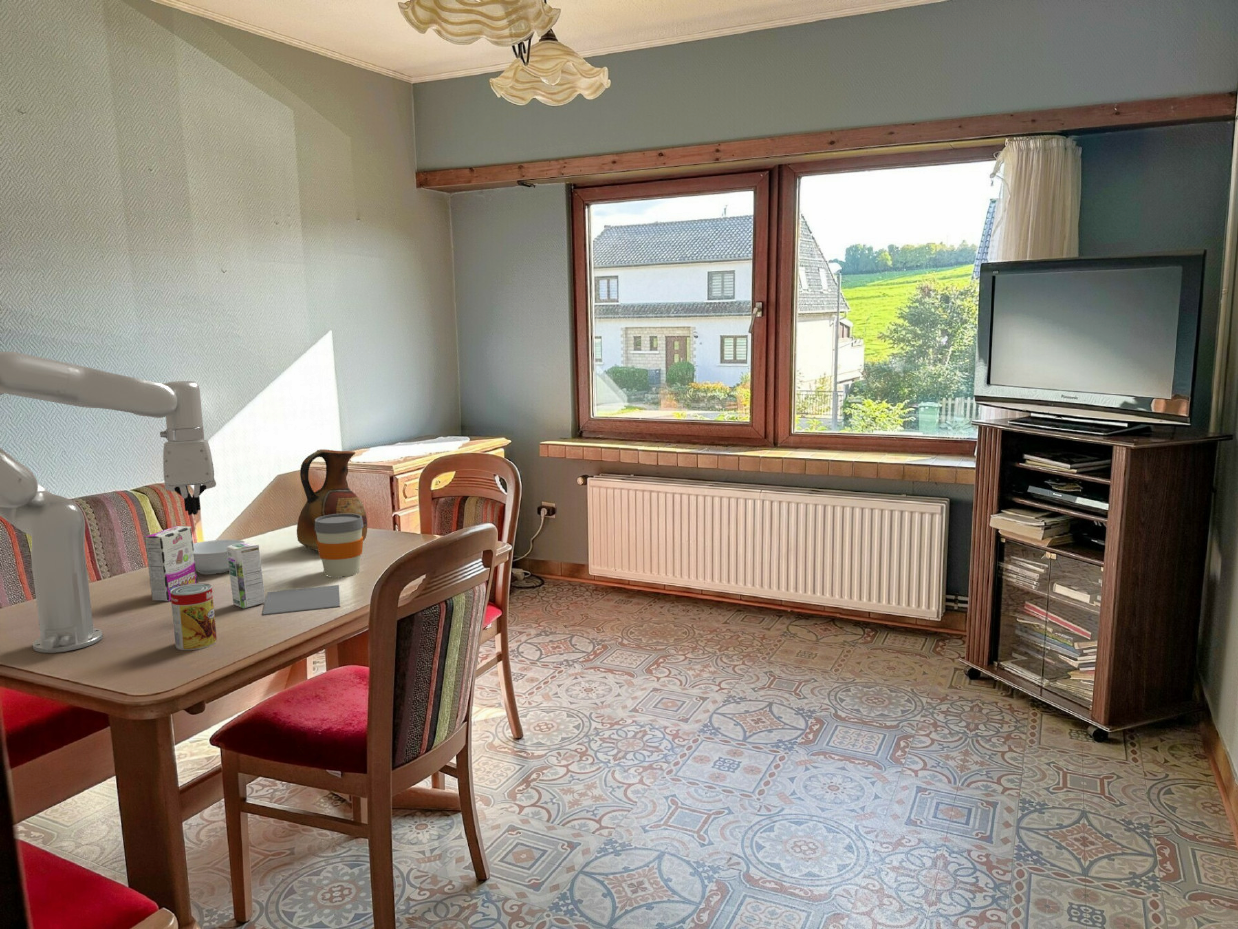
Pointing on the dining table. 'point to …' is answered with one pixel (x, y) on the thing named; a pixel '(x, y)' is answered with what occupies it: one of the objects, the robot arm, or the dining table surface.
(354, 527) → the reusable coffee cup
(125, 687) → the dining table surface
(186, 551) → the candy bar box
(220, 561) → the cereal bowl
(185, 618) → the canned food
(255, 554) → the syrup box
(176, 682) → the dining table surface
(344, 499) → the ceramic pitcher
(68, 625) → the robot arm
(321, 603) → the mat
